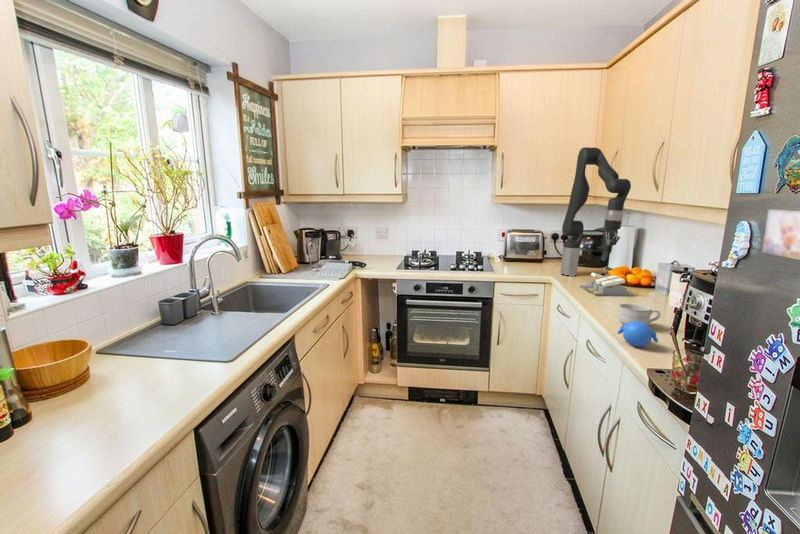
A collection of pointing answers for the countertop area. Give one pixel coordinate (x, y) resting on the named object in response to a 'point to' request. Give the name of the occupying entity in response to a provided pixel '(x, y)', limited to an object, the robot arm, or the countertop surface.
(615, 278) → the rocker
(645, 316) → the teacup
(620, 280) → the rocker
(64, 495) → the countertop surface
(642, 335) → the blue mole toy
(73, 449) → the countertop surface
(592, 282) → the switch unit
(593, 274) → the rocker
